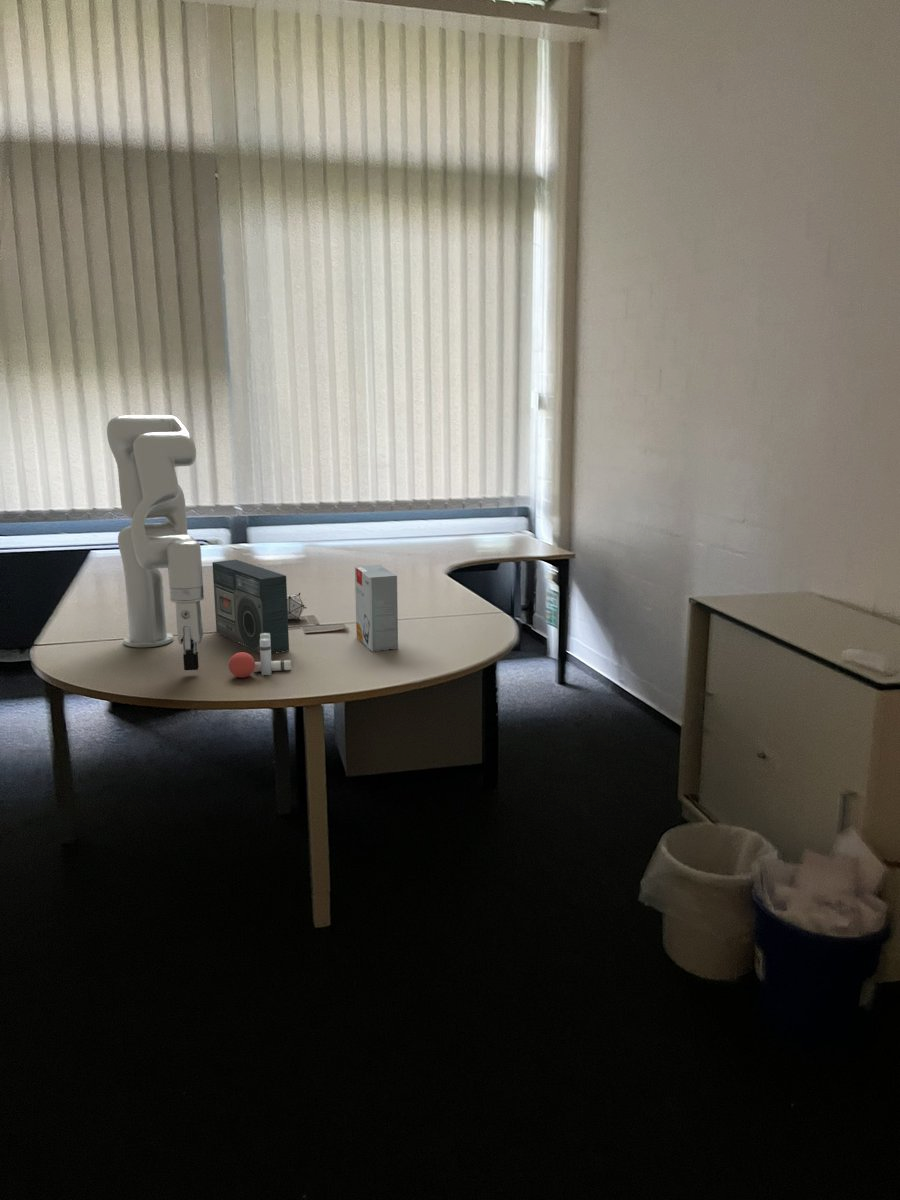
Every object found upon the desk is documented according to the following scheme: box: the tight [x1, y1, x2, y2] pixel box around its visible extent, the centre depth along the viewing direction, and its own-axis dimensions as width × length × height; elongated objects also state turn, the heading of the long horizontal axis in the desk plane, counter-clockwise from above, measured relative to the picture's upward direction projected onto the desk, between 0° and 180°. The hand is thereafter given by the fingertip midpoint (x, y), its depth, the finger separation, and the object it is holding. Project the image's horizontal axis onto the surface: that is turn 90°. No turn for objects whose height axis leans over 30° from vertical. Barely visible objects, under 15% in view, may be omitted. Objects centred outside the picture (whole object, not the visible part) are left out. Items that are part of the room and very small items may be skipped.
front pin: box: [254, 659, 292, 673], centre depth 214 cm, size 2×2×8 cm
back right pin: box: [259, 638, 273, 676], centre depth 211 cm, size 2×2×8 cm
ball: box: [228, 651, 256, 679], centre depth 209 cm, size 6×6×6 cm
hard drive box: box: [354, 564, 399, 652], centre depth 236 cm, size 16×8×20 cm, turn 21°
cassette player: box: [211, 559, 290, 655], centre depth 238 cm, size 29×7×20 cm, turn 39°
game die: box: [287, 592, 307, 622], centre depth 262 cm, size 9×8×10 cm
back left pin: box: [260, 633, 271, 645], centre depth 215 cm, size 2×2×8 cm
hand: (191, 669), depth 210 cm, fingers closed
